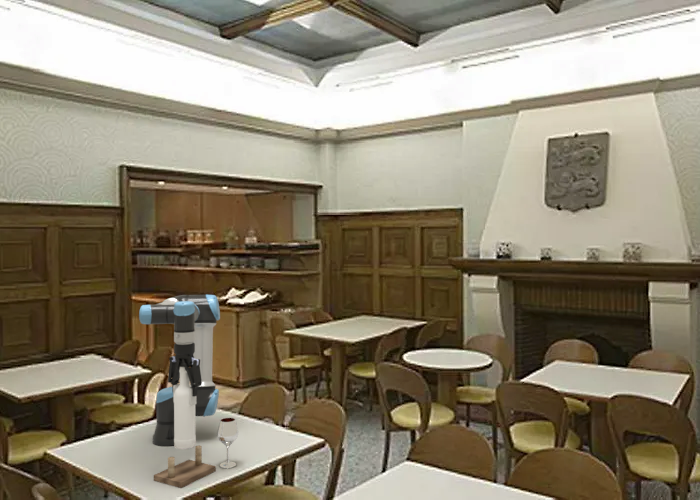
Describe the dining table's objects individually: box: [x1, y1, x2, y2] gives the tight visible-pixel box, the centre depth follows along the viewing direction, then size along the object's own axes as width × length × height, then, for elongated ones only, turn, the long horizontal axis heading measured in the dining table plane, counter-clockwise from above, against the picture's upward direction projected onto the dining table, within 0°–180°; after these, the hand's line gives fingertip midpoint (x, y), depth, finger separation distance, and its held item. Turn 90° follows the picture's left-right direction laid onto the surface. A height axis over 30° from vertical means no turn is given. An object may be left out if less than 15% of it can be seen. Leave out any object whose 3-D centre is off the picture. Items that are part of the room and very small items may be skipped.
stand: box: [153, 444, 217, 489], centre depth 224 cm, size 14×18×9 cm
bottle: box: [173, 367, 197, 450], centre depth 224 cm, size 8×8×30 cm
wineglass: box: [216, 417, 239, 469], centre depth 235 cm, size 8×8×18 cm
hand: (184, 403), depth 224 cm, fingers closed on bottle, 8 cm apart
